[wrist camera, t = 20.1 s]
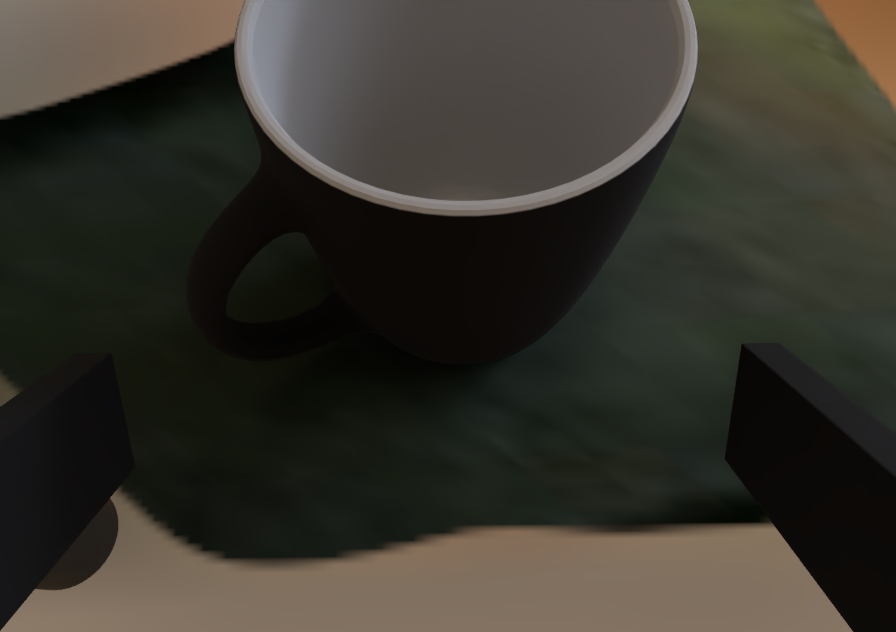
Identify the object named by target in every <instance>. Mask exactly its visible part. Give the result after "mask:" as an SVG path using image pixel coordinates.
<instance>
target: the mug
mask: <svg viewBox="0 0 896 632" xmlns="http://www.w3.org/2000/svg"><path fill="white" fill-rule="evenodd" d="M234 55H235V68H236V74H237V79H238V83H239V88H240V92H241V95H242V98H243V101H244V103H245V106H246V109H247V112H248V115H249V117H250V120H251V123H252V125H253V128H254V131H255V134H256V136H257V139H258V142H259V145H260V149H261V163H260V166H259V169H258V170H257V172H256V174H255V175H254V177H253V178H252V179H251V180H250V181H249V183H248V184H247V185H246V186H245V187H244V188H243V189H242V190H241V191H240V193H239V194H238V195H237V196H236V197H235V198H234V199H233V200H232V201H231V202H230V204H229V205H228V206H227V207H226V208H225V209H224V210H223V212H222V213H221V214H220V215H219V216H218V217H217V219H216V220H215V221H214V222H213V224H212V225H211V226H210V228H209V229H208V230H207V232H206V233H205V235H204V237H203V238H202V240H201V242H200V243H199V245H198V247H197V249H196V251H195V253H194V256H193V258H192V261H191V263H190V266H189V271H188V275H187V285H186V294H187V302H188V307H189V311H190V314H191V316H192V318H193V320H194V323H195V325H196V327H197V329H198V330H199V331H200V332H201V334H202V335H203V336H204V337H205V338H206V340H207V341H208V342H209V343H210V344H211V345H213V346H214V347H216V348H217V349H219V350H220V351H221V352H223V353H224V354H227V355H229V356H232V357H234V358H239V359H244V360H249V361H273V360H279V359H285V358H289V357H293V356H297V355H300V354H303V353H306V352H309V351H312V350H314V349H317V348H319V347H322V346H324V345H327V344H329V343H332V342H334V341H337V340H339V339H342V338H345V337H348V336H351V335H355V334H359V333H374V334H377V335H379V336H381V337H383V338H384V339H386V340H387V341H389V342H390V343H392V344H393V345H395V346H397V347H398V348H400V349H402V350H404V351H406V352H408V353H410V354H412V355H414V356H417V357H419V358H422V359H426V360H429V361H433V362H438V363H443V364H452V365H471V364H481V363H486V362H491V361H495V360H499V359H502V358H505V357H507V356H510V355H512V354H514V353H516V352H518V351H520V350H522V349H524V348H526V347H528V346H529V345H531V344H532V343H534V342H535V341H537V340H538V339H539V338H541V337H542V336H543V335H544V334H546V333H547V332H548V331H549V330H550V329H551V328H552V327H553V326H554V325H556V324H557V323H558V322H559V321H560V320H561V319H562V318H563V317H564V316H565V314H566V313H567V312H568V311H569V310H570V309H571V308H572V306H573V305H574V304H575V303H576V302H577V300H578V299H579V298H580V297H581V295H582V294H583V293H584V291H585V290H586V289H587V288H588V286H589V285H590V283H591V282H592V281H593V279H594V278H595V276H596V275H597V273H598V272H599V270H600V269H601V267H602V266H603V264H604V263H605V261H606V260H607V258H608V257H609V255H610V254H611V252H612V251H613V249H614V247H615V246H616V244H617V243H618V241H619V239H620V238H621V236H622V234H623V233H624V231H625V229H626V228H627V226H628V224H629V223H630V221H631V219H632V217H633V216H634V214H635V212H636V210H637V209H638V207H639V205H640V203H641V201H642V199H643V198H644V196H645V194H646V192H647V190H648V188H649V186H650V184H651V182H652V180H653V178H654V176H655V175H656V173H657V171H658V169H659V167H660V165H661V163H662V161H663V159H664V157H665V155H666V153H667V151H668V149H669V147H670V144H671V142H672V140H673V138H674V136H675V133H676V131H677V129H678V127H679V124H680V122H681V119H682V116H683V114H684V111H685V108H686V106H687V103H688V100H689V97H690V94H691V91H692V87H693V82H694V77H695V72H696V67H697V56H698V42H697V31H696V27H695V22H694V17H693V14H692V11H691V8H690V6H689V3H688V0H245V1H244V4H243V7H242V10H241V13H240V15H239V19H238V24H237V28H236V33H235V45H234ZM291 232H302V233H304V234H305V235H306V237H307V239H308V241H309V242H310V244H311V246H312V247H313V249H314V251H315V253H316V254H317V256H318V257H319V259H320V261H321V262H322V264H323V265H324V267H325V269H326V270H327V272H328V273H329V275H330V276H331V278H332V279H333V281H334V286H333V289H332V290H331V292H330V293H329V294H328V295H327V297H326V298H325V299H323V300H322V301H321V302H320V303H318V304H317V305H315V306H314V307H312V308H310V309H308V310H306V311H304V312H301V313H298V314H296V315H293V316H289V317H286V318H283V319H278V320H273V321H267V322H259V323H246V322H240V321H236V320H233V319H231V318H229V317H227V316H226V310H225V309H226V302H227V298H228V295H229V292H230V290H231V288H232V286H233V284H234V282H235V280H236V279H237V277H238V276H239V274H240V273H241V271H242V270H243V269H244V268H245V266H246V265H247V264H248V263H249V262H250V260H251V259H252V258H253V257H254V256H255V255H256V254H257V253H258V252H259V251H260V250H261V249H262V248H263V247H264V246H266V245H267V244H268V243H269V242H271V241H272V240H273V239H275V238H277V237H279V236H281V235H283V234H286V233H291Z"/></svg>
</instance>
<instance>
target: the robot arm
mask: <svg viewBox="0 0 896 632" xmlns="http://www.w3.org/2000/svg"><path fill="white" fill-rule="evenodd" d="M725 460H726V461H727V463H728V464H729V465H730V467H731V468H732V469H733V471H734V472H735V473H736V475H737V476H738V477H739V479H740V480H741V481H742V483H743V484H744V485H745V487H746V488H747V490H748V491H749V492H750V494H751V495H752V496H753V498H754V499H755V500H756V502H757V503H758V504H759V506H760V507H761V508H762V510H763V511H764V512H765V514H766V515H767V516H768V518H769V519H770V520H771V522H772V523H773V524H774V526H775V527H776V528H777V530H778V531H779V533H780V534H781V535H782V537H783V538H784V539H785V541H786V542H787V543H788V544H789V546H790V547H791V549H792V550H793V551H794V553H795V554H796V555H797V557H798V558H799V559H800V561H801V562H802V563H803V565H804V566H805V567H806V569H807V570H808V572H809V573H810V574H811V576H812V577H813V578H814V580H815V581H816V582H817V584H818V585H819V586H820V588H821V589H822V590H823V592H824V593H825V594H826V596H827V597H828V598H829V600H830V601H831V602H832V604H833V605H834V606H835V608H836V609H837V610H838V612H839V613H840V614H841V616H842V617H843V619H844V620H845V621H846V622H847V624H848V625H849V627H850V628H851V629H852V631H853V632H896V433H894V432H893V431H892V430H890V429H889V428H888V427H887V426H885V425H884V424H883V423H881V422H880V421H879V420H877V419H876V418H875V417H874V416H872V415H871V414H870V413H868V412H867V411H866V410H865V409H863V408H862V407H861V406H859V405H858V404H857V403H856V402H854V401H853V400H852V399H850V398H849V397H848V396H846V395H845V394H844V393H843V392H841V391H840V390H839V389H837V388H836V387H835V386H834V385H832V384H831V383H830V382H828V381H827V380H826V379H824V378H823V377H822V376H821V375H819V374H818V373H817V372H815V371H814V370H813V369H812V368H810V367H809V366H808V365H806V364H805V363H804V362H803V361H801V360H800V359H799V358H797V357H796V356H795V355H793V354H792V353H791V352H790V351H788V350H787V349H786V348H784V347H783V346H782V345H781V344H779V343H754V344H742V345H741V352H740V359H739V366H738V372H737V379H736V386H735V393H734V399H733V406H732V413H731V420H730V426H729V433H728V440H727V447H726V454H725ZM134 468H135V464H134V459H133V454H132V449H131V445H130V440H129V435H128V430H127V425H126V421H125V416H124V411H123V406H122V402H121V397H120V392H119V387H118V382H117V378H116V373H115V368H114V363H113V359H112V354H111V353H97V354H74V355H73V356H71V357H70V358H68V359H67V360H66V361H64V362H63V363H61V364H60V365H58V366H57V367H56V368H54V369H53V370H51V371H50V372H49V373H47V374H46V375H44V376H43V377H42V378H40V379H39V380H37V381H36V382H35V383H33V384H32V385H30V386H29V387H28V388H26V389H25V390H23V391H22V392H21V393H19V394H18V395H16V396H15V397H14V398H12V399H11V400H9V401H8V402H7V403H5V404H4V405H2V406H1V407H0V630H1V629H2V628H3V627H4V626H5V624H6V623H7V622H8V621H9V619H10V618H11V617H12V616H13V615H14V613H15V612H16V611H17V610H18V609H19V607H20V606H21V605H22V604H23V603H24V601H25V600H26V599H27V597H28V596H29V595H30V594H31V593H32V591H33V590H34V589H35V588H36V587H37V586H38V584H39V583H40V582H41V581H42V580H43V578H44V577H45V576H46V575H47V573H48V572H49V571H50V570H51V569H52V567H53V566H54V565H55V564H56V563H57V561H58V560H59V559H60V558H61V557H62V555H63V554H64V553H65V552H66V550H67V549H68V548H69V547H70V546H71V544H72V543H73V542H74V541H75V540H76V538H77V537H78V536H79V535H80V534H81V532H82V531H83V530H84V529H85V527H86V526H87V525H88V524H89V523H90V521H91V520H92V519H93V518H94V517H95V515H96V514H97V513H98V512H99V510H100V509H101V508H102V507H103V506H104V504H105V503H106V502H107V501H108V500H109V498H110V497H111V496H112V495H113V494H114V492H115V491H116V490H117V489H118V487H119V486H120V485H121V484H122V483H123V481H124V480H125V479H126V478H127V477H128V475H129V474H130V473H131V472H132V471H133V469H134Z"/></svg>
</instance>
